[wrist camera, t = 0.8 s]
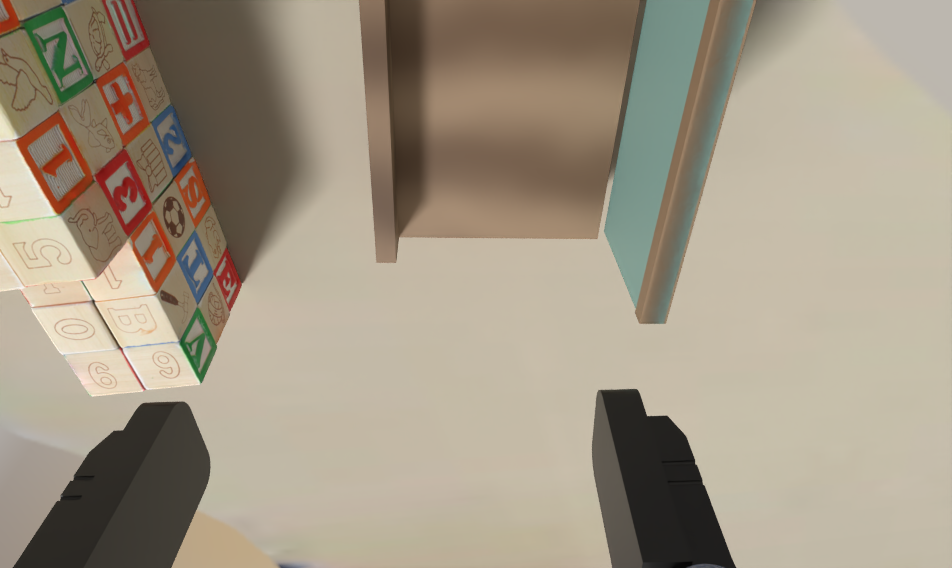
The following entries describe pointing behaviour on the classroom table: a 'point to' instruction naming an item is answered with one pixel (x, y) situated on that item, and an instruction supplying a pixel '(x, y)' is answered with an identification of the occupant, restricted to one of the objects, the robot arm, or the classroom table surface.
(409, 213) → the cart bed
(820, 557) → the classroom table surface
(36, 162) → the stack of blocks
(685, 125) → the tailgate
